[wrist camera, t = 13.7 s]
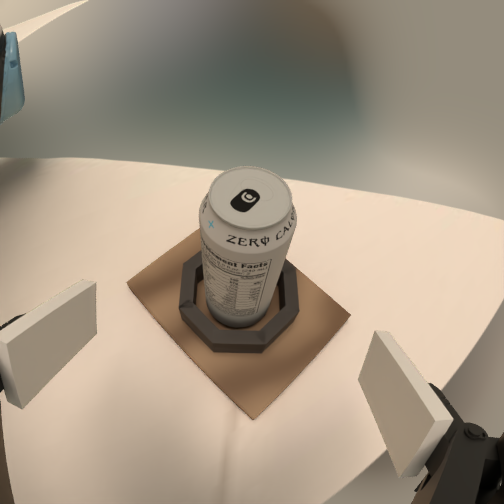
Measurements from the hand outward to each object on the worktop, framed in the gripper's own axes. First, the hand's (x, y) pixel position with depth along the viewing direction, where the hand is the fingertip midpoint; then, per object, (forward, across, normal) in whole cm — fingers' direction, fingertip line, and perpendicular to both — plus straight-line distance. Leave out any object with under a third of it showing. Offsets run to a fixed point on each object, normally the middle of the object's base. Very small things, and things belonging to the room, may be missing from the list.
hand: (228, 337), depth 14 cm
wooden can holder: (+17, 0, -5) cm, 18 cm away
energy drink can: (+17, 0, -5) cm, 17 cm away
